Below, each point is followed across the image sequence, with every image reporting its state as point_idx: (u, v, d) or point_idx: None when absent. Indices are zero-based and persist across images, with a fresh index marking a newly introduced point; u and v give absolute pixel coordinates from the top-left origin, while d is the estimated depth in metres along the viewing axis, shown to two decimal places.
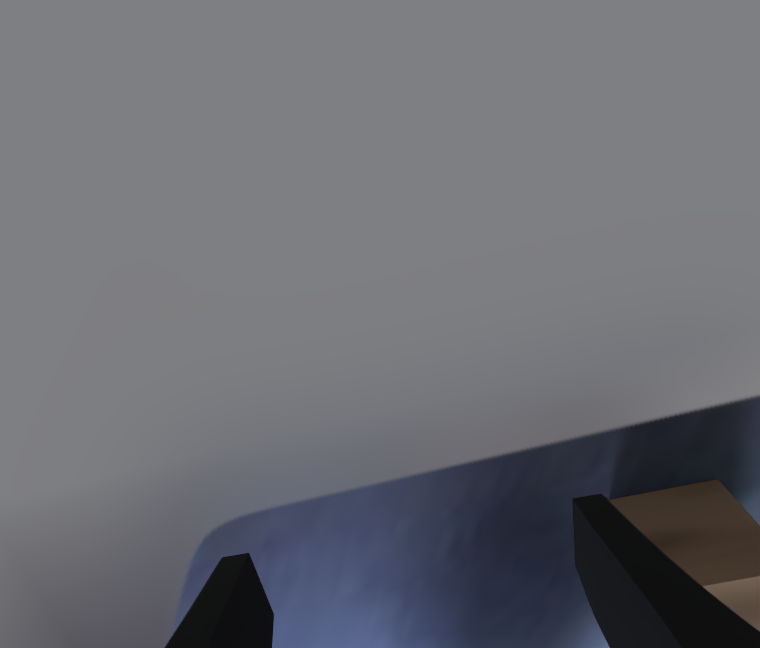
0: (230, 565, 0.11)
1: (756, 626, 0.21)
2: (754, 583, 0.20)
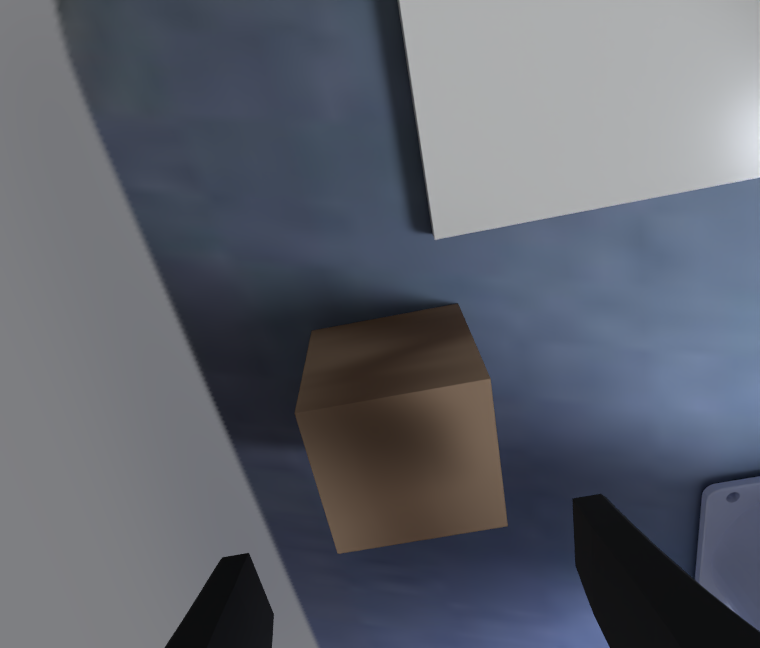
0: (230, 565, 0.11)
1: (417, 435, 0.14)
2: (323, 460, 0.14)
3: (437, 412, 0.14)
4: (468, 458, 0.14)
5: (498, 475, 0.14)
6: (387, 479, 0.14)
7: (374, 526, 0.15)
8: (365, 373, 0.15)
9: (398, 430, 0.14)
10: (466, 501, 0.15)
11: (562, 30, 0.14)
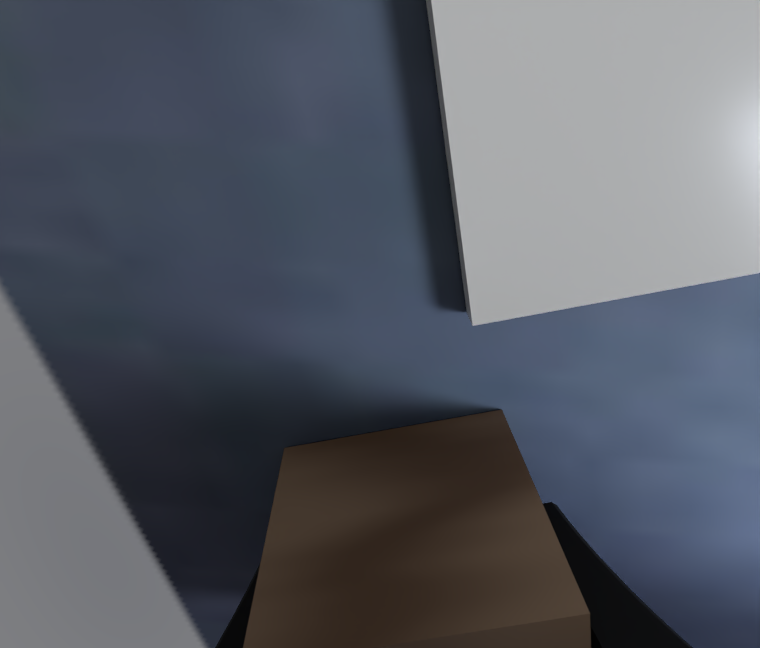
0: None
1: None
2: None
3: None
4: None
5: None
6: None
7: None
8: (364, 568, 0.09)
9: None
10: None
11: None
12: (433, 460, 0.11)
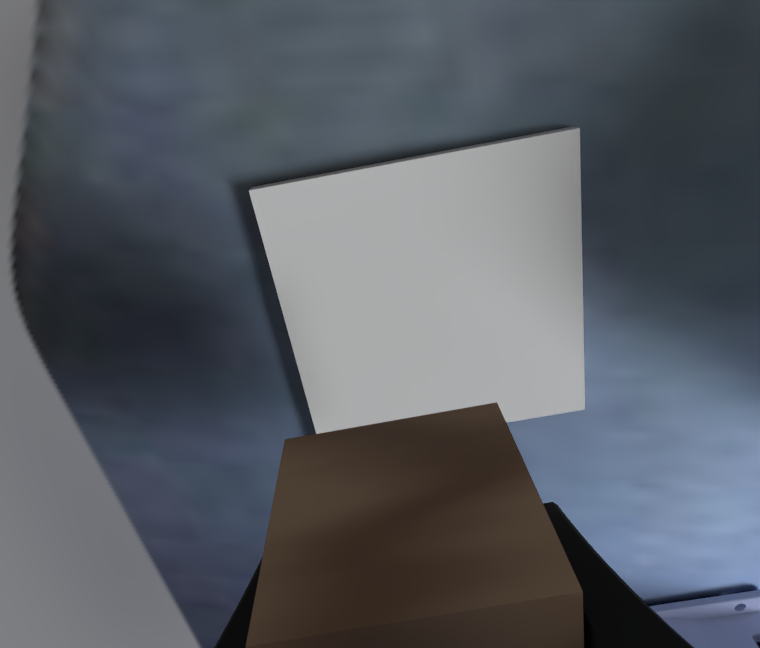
0: None
1: None
2: None
3: (489, 639, 0.08)
4: None
5: None
6: None
7: None
8: (366, 552, 0.09)
9: None
10: None
11: (408, 318, 0.18)
12: (431, 450, 0.11)
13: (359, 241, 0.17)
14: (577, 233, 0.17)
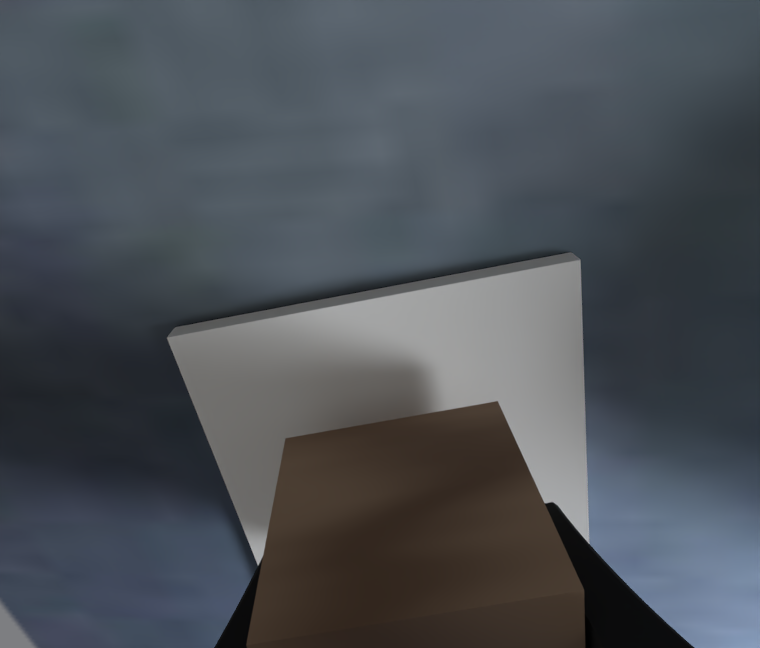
0: None
1: None
2: None
3: (490, 638, 0.08)
4: None
5: None
6: None
7: None
8: (367, 550, 0.09)
9: None
10: None
11: None
12: (432, 449, 0.11)
13: (309, 391, 0.14)
14: (579, 376, 0.14)
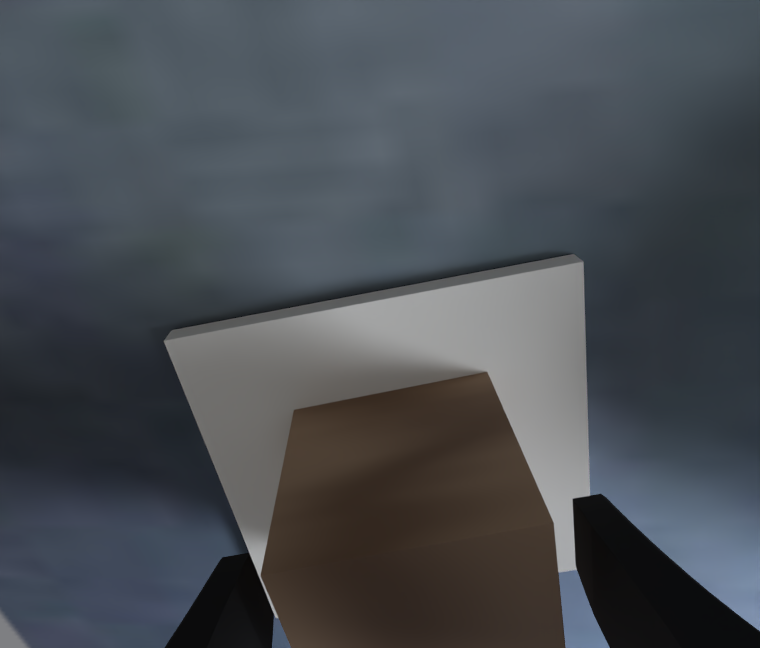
0: (231, 566, 0.11)
1: (443, 598, 0.09)
2: (305, 632, 0.10)
3: (473, 567, 0.09)
4: (517, 624, 0.10)
5: (560, 644, 0.10)
6: None
7: None
8: (365, 498, 0.10)
9: (415, 591, 0.09)
10: None
11: None
12: (425, 414, 0.12)
13: (307, 394, 0.13)
14: (581, 379, 0.13)
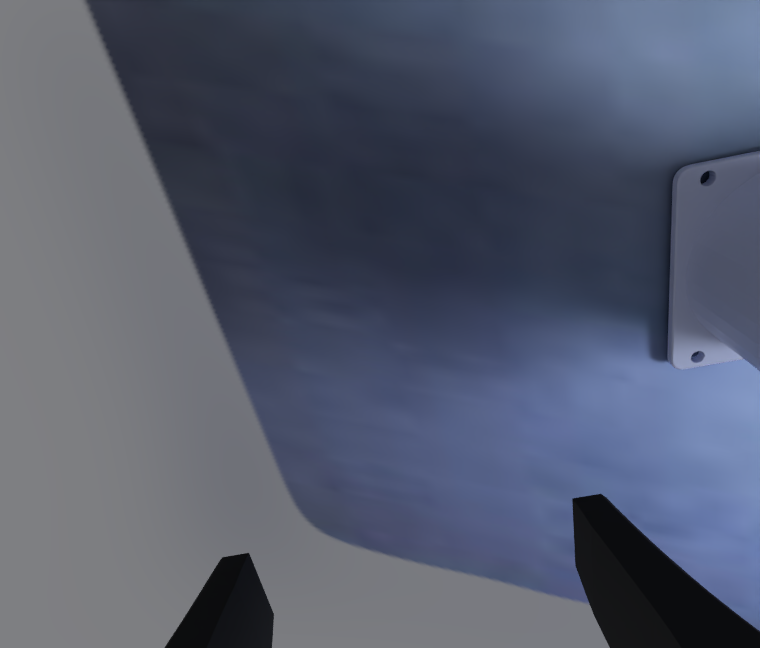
0: (231, 565, 0.11)
1: None
2: None
3: None
4: None
5: None
6: None
7: None
8: None
9: None
10: None
11: None
12: None
13: None
14: None
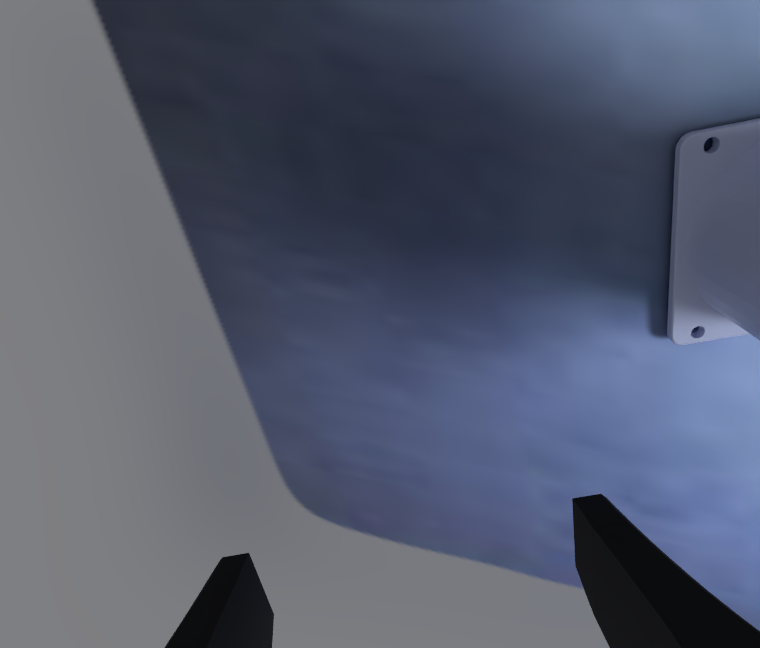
0: (230, 566, 0.11)
1: None
2: None
3: None
4: None
5: None
6: None
7: None
8: None
9: None
10: None
11: None
12: None
13: None
14: None
